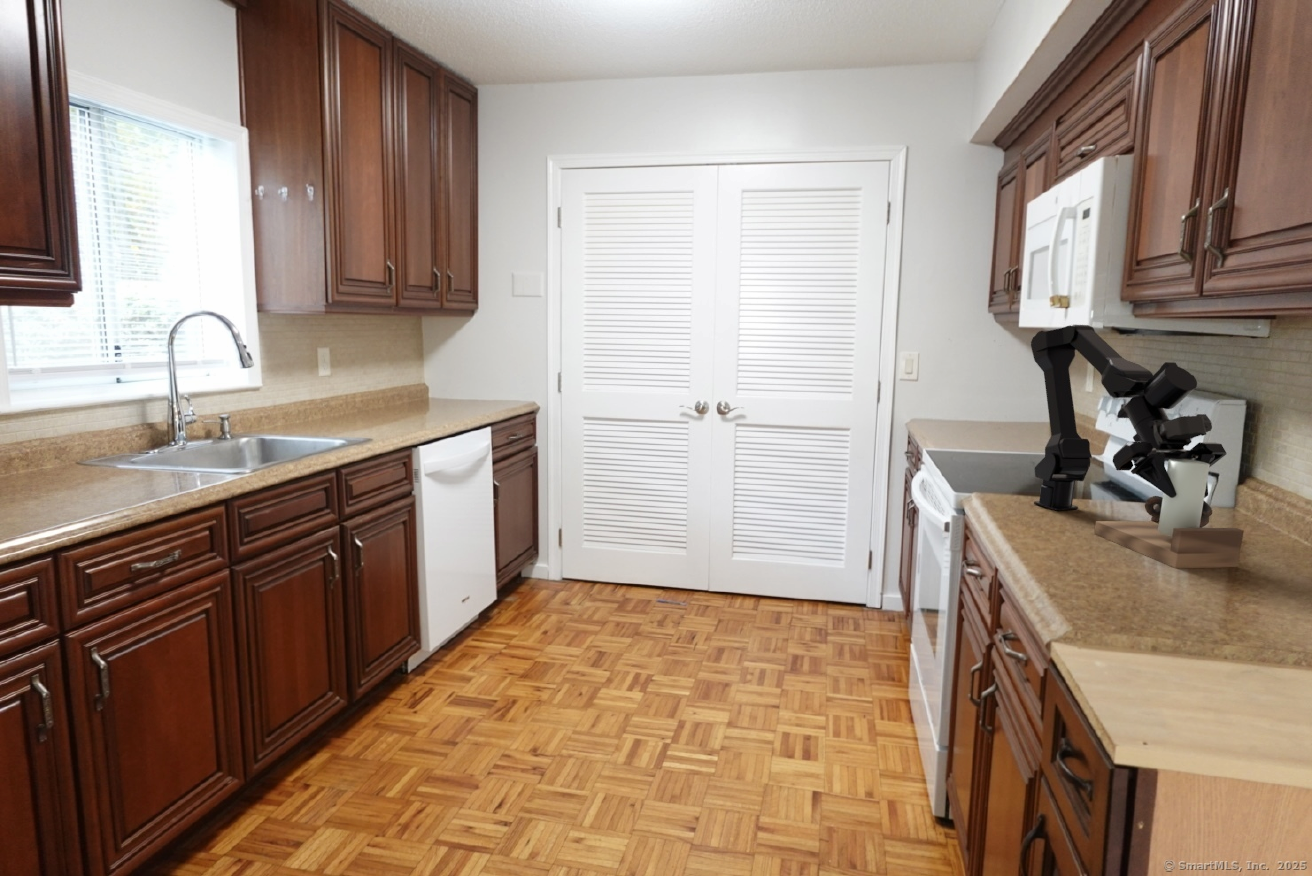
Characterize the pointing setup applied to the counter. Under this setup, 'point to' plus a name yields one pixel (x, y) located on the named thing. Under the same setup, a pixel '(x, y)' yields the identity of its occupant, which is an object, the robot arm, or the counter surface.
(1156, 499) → the rusty ring shackle
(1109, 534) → the walnut shelf board
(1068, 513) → the counter surface
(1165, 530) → the pale upright pillar block
